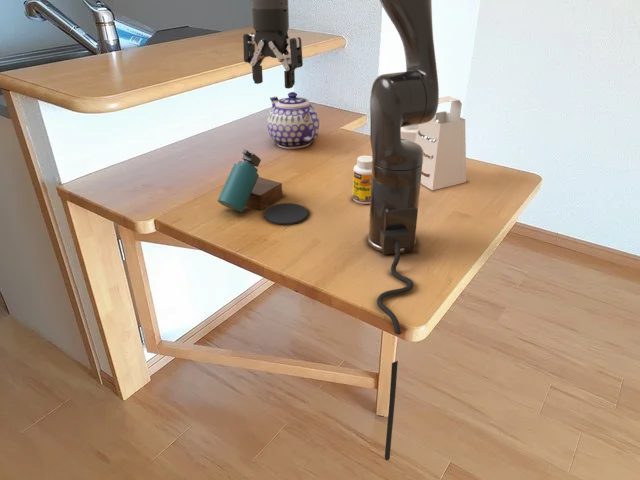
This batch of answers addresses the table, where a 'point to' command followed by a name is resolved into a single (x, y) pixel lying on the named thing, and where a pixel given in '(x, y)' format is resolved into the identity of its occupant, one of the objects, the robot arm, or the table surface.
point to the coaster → (286, 214)
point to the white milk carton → (409, 132)
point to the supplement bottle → (362, 180)
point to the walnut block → (264, 193)
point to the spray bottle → (240, 182)
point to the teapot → (292, 122)
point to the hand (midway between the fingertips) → (273, 85)
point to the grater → (443, 147)
